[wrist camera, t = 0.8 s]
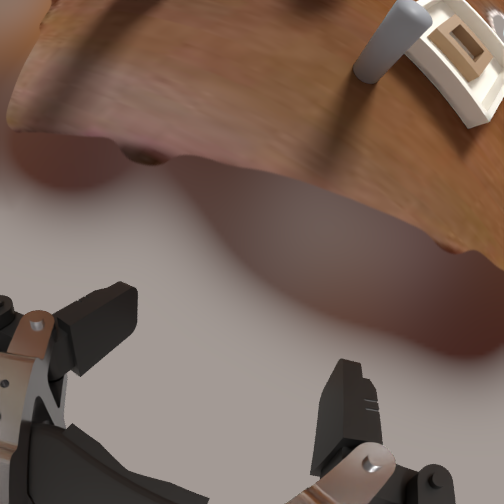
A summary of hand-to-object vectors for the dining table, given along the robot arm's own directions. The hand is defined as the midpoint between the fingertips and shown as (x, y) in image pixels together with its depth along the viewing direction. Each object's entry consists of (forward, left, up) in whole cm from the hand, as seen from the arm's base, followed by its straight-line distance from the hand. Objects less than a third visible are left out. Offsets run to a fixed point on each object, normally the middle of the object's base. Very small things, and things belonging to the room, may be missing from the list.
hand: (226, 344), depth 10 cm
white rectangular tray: (0, +45, -21) cm, 50 cm away
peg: (-6, +26, -21) cm, 34 cm away
